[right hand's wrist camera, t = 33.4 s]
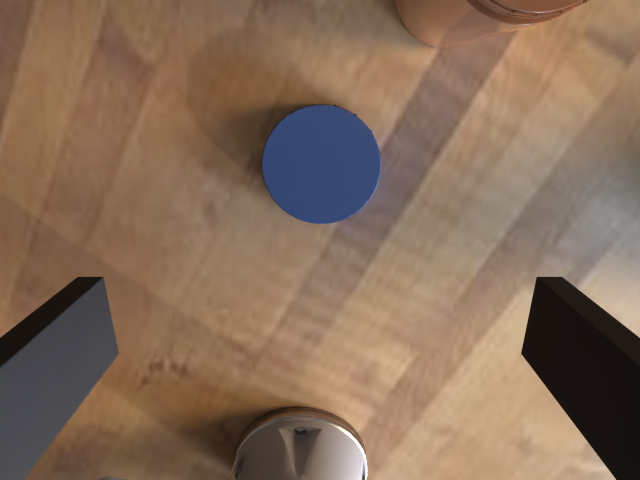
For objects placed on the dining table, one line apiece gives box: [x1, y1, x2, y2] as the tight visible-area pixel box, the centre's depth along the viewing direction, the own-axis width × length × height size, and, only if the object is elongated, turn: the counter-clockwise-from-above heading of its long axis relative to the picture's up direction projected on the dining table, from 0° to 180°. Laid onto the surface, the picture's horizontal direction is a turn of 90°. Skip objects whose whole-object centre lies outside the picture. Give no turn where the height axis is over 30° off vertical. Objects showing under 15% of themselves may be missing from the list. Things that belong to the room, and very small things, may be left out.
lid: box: [262, 104, 381, 224], centre depth 36 cm, size 10×10×2 cm
